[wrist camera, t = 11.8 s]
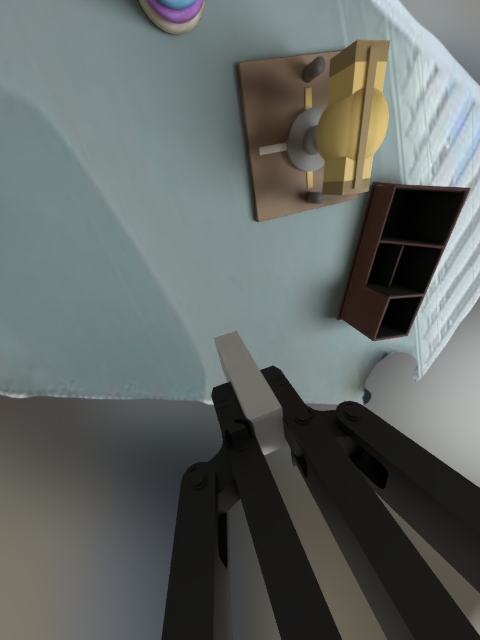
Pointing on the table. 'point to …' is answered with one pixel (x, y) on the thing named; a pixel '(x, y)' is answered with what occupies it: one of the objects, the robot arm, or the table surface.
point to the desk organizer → (398, 256)
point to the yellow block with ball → (353, 117)
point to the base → (286, 132)
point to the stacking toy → (174, 14)
